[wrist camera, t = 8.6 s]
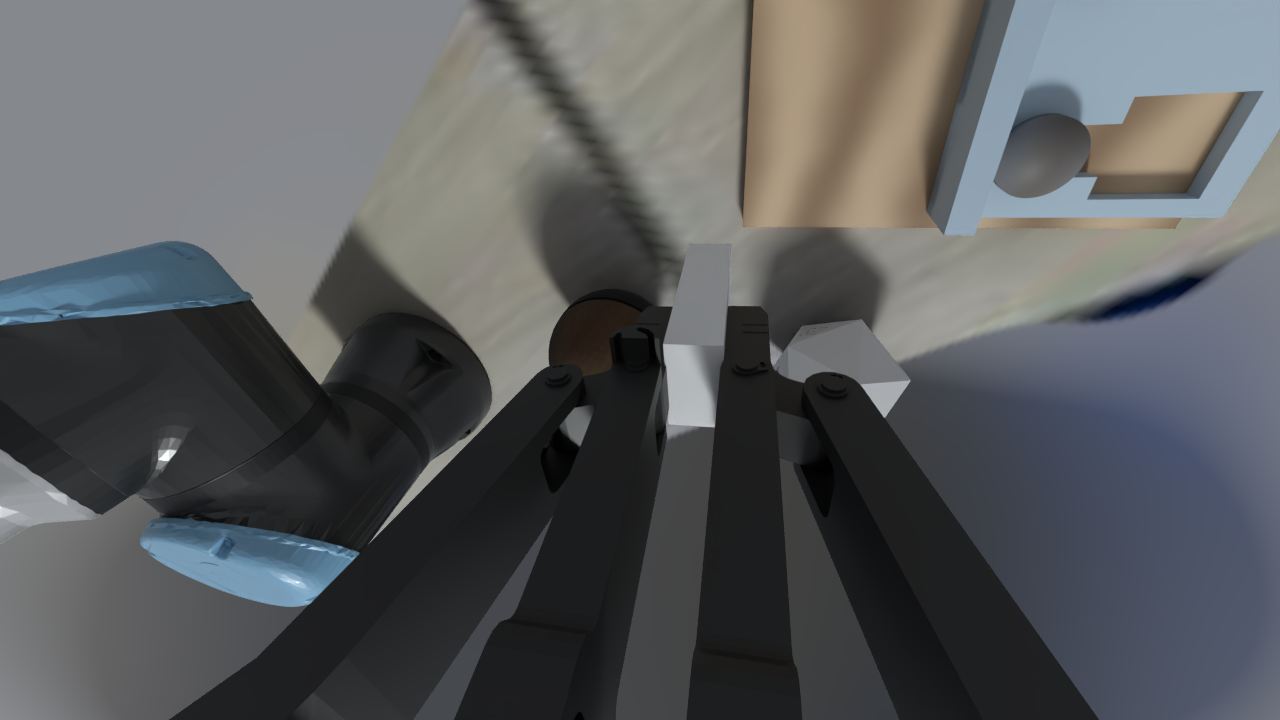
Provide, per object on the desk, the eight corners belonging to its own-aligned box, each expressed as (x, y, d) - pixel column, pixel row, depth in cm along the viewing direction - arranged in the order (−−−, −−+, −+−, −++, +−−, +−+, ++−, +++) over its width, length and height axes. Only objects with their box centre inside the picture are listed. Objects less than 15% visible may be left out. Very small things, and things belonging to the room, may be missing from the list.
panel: (926, 211, 29) (943, 235, 26) (1030, -167, 20) (1076, -199, 17) (1209, 211, 26) (1265, 237, 23) (1489, -240, 17) (1645, -293, 14)
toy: (690, 366, 42) (670, 449, 34) (585, 361, 44) (545, 438, 36) (683, 267, 36) (659, 338, 28) (565, 268, 39) (512, 334, 31)
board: (743, 220, 33) (740, 239, 30) (762, -148, 23) (760, -170, 20) (1161, 221, 28) (1204, 244, 25) (1436, -261, 17) (1561, -313, 15)
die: (847, 272, 34) (760, 346, 30) (957, 354, 31) (877, 448, 27) (801, 336, 42) (727, 403, 38) (887, 407, 39) (816, 488, 35)
